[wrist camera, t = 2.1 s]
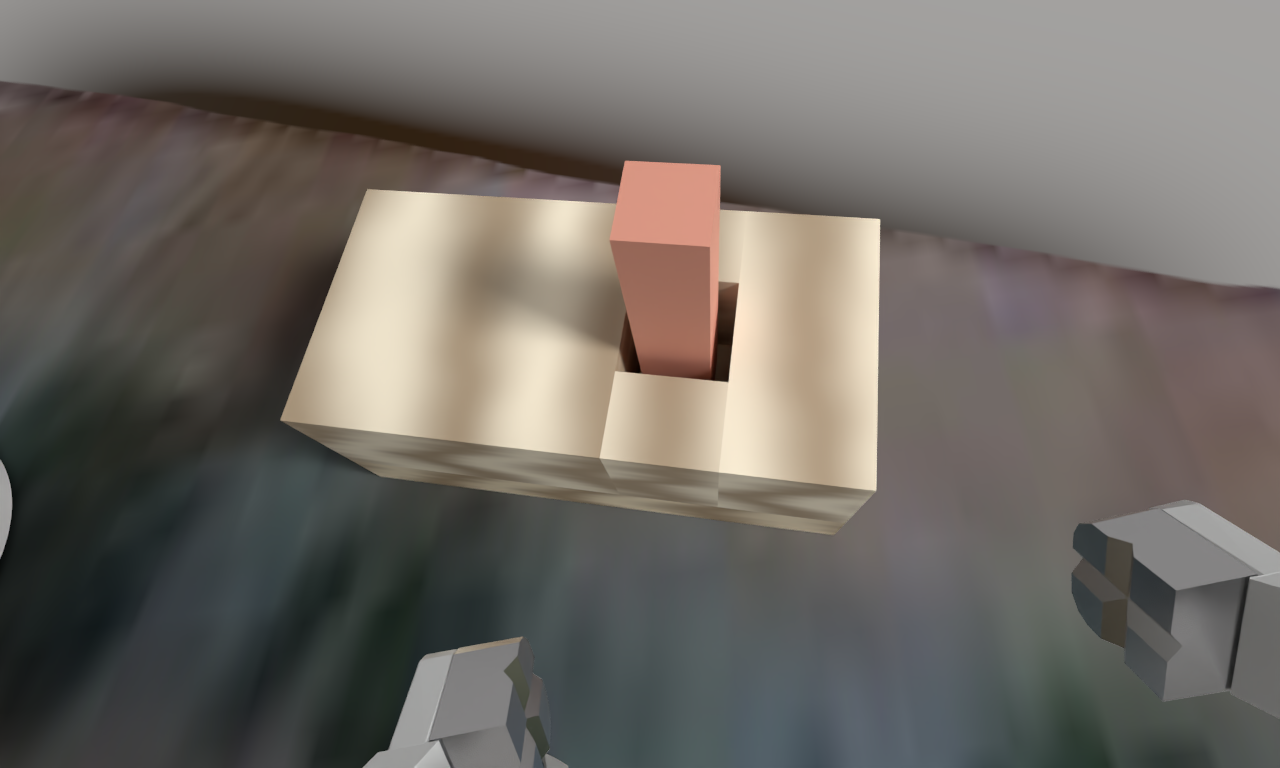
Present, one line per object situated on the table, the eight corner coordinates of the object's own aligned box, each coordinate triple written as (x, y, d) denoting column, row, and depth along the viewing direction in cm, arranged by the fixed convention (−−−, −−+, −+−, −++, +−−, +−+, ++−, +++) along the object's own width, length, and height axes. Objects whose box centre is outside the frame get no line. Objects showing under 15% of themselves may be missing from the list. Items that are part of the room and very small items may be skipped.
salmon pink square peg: (650, 407, 32) (609, 240, 20) (658, 353, 33) (625, 160, 21) (710, 413, 32) (709, 246, 19) (717, 358, 33) (720, 165, 20)
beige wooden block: (380, 476, 36) (279, 420, 27) (440, 281, 40) (369, 182, 32) (833, 535, 32) (876, 490, 24) (842, 313, 37) (880, 211, 28)
